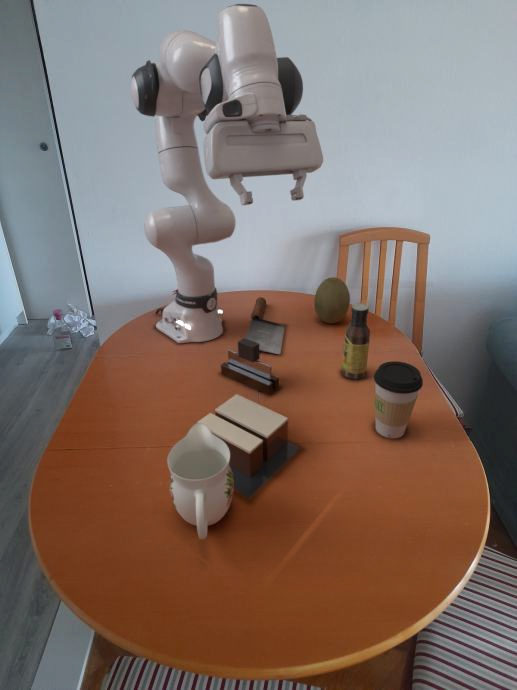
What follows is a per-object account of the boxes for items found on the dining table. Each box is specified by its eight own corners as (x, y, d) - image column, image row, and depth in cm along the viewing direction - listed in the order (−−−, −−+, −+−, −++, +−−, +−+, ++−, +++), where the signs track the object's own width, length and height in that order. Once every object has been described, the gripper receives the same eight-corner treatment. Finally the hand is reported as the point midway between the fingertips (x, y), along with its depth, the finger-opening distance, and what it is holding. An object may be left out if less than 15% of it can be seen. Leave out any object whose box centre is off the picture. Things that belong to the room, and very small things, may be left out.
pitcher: (170, 565, 71) (159, 505, 64) (176, 480, 86) (168, 425, 80) (239, 558, 72) (235, 498, 65) (232, 475, 87) (229, 420, 81)
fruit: (314, 312, 152) (317, 270, 145) (348, 315, 150) (352, 272, 143) (311, 327, 142) (313, 283, 135) (347, 330, 140) (351, 285, 133)
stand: (221, 374, 119) (220, 364, 118) (232, 367, 122) (231, 357, 121) (268, 395, 110) (268, 385, 109) (279, 387, 113) (279, 377, 112)
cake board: (175, 453, 93) (171, 426, 89) (229, 413, 104) (228, 388, 101) (249, 500, 82) (248, 471, 78) (300, 449, 93) (301, 422, 90)
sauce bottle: (344, 366, 122) (350, 299, 112) (367, 370, 120) (375, 302, 110) (338, 378, 117) (345, 309, 107) (362, 383, 115) (371, 312, 105)
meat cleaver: (280, 354, 128) (280, 342, 126) (241, 352, 129) (241, 340, 127) (287, 307, 157) (288, 296, 155) (255, 306, 158) (255, 295, 156)
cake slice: (199, 446, 94) (196, 422, 90) (212, 436, 96) (210, 412, 93) (250, 477, 86) (249, 451, 83) (263, 465, 89) (262, 440, 86)
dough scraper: (226, 373, 119) (224, 336, 114) (232, 370, 121) (230, 332, 115) (268, 392, 112) (267, 353, 106) (273, 387, 113) (273, 349, 108)
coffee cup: (382, 409, 105) (390, 354, 97) (421, 428, 99) (433, 371, 91) (358, 429, 99) (365, 372, 92) (398, 450, 93) (408, 391, 85)
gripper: (303, 122, 79) (316, 201, 80) (193, 124, 71) (210, 212, 72) (322, 106, 73) (336, 191, 75) (205, 106, 65) (223, 202, 67)
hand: (273, 202), depth 73 cm, fingers open, 8 cm apart
